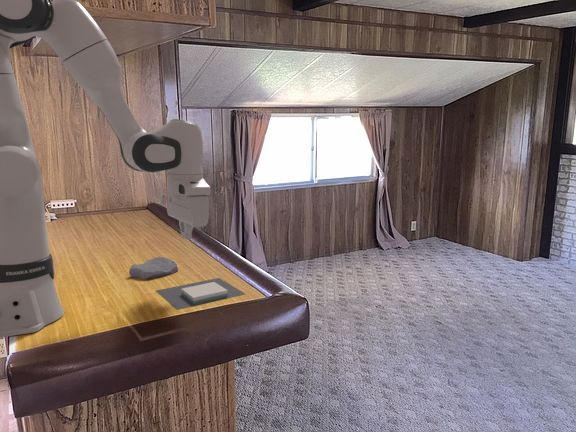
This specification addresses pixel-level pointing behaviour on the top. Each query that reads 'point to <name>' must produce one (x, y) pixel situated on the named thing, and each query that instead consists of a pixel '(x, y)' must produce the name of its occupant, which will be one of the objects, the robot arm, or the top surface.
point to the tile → (204, 292)
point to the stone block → (153, 268)
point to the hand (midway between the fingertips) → (186, 238)
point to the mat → (175, 294)
